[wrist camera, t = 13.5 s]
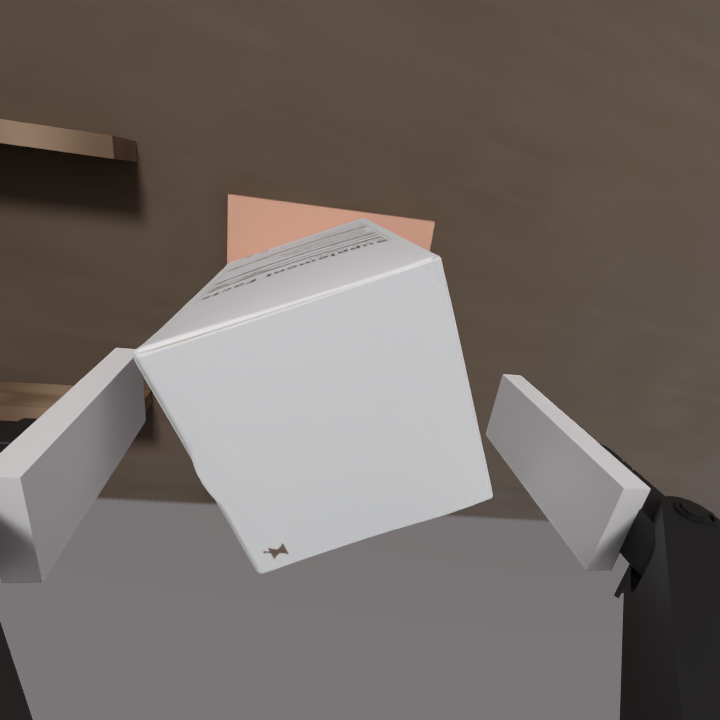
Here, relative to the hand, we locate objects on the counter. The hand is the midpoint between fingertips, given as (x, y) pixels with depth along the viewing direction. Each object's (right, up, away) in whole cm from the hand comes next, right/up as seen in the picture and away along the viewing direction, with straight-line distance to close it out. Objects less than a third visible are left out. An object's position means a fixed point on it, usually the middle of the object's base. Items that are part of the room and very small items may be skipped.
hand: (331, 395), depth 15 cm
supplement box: (-1, +5, +11) cm, 12 cm away
